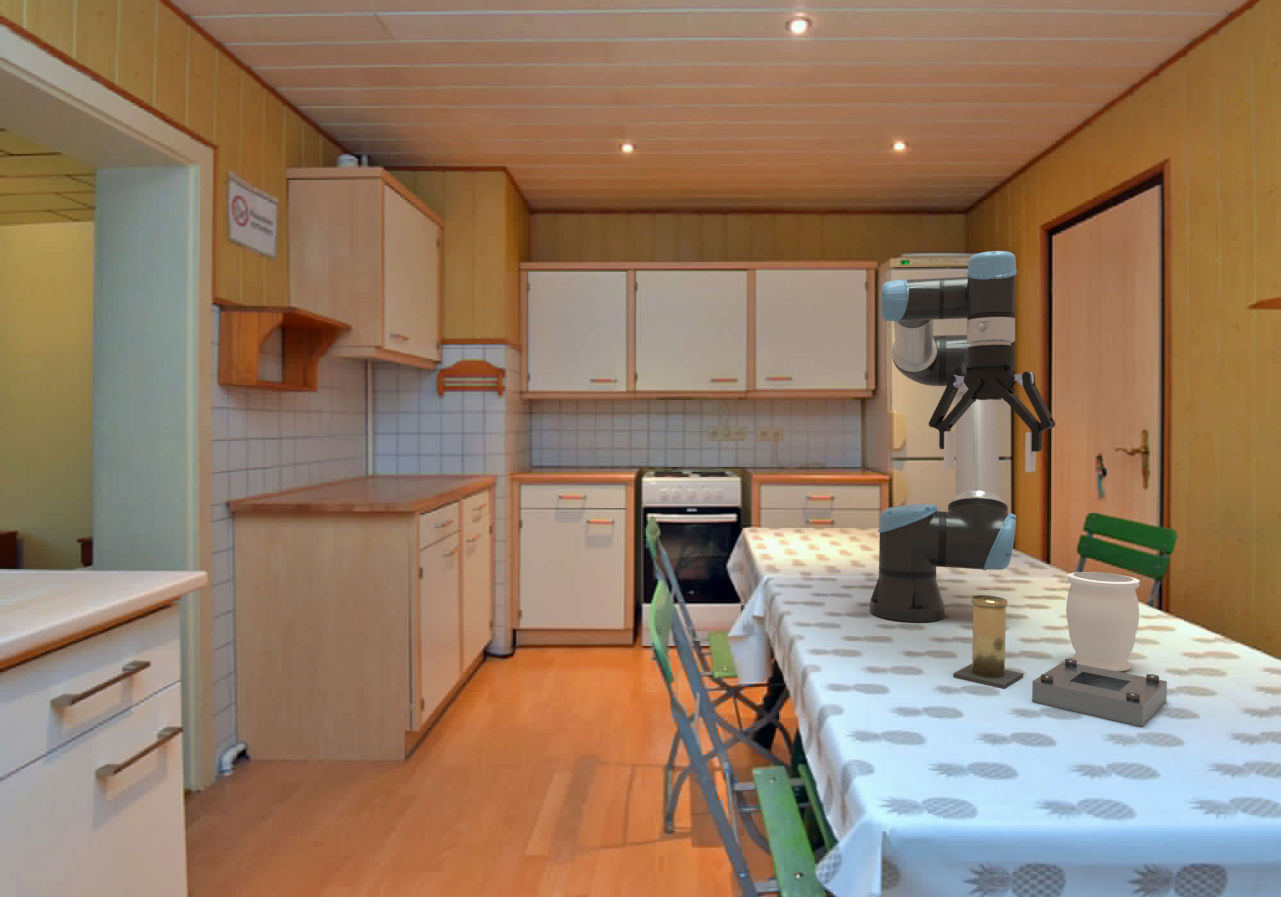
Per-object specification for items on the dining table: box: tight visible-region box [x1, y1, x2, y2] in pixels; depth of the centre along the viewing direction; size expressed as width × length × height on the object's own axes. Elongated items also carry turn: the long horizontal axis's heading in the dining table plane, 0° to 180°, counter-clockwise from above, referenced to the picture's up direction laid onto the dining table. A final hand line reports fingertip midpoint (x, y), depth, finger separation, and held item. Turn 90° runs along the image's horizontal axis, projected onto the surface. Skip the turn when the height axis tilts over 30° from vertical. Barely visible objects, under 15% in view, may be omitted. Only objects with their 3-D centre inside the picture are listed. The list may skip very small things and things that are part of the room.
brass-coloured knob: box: [971, 595, 1008, 678], centre depth 128 cm, size 5×5×12 cm
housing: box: [1031, 658, 1168, 728], centre depth 117 cm, size 14×14×4 cm
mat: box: [952, 663, 1024, 690], centre depth 129 cm, size 8×8×1 cm
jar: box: [1065, 571, 1141, 672], centre depth 135 cm, size 11×10×15 cm
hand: (988, 470), depth 137 cm, fingers open, 13 cm apart
